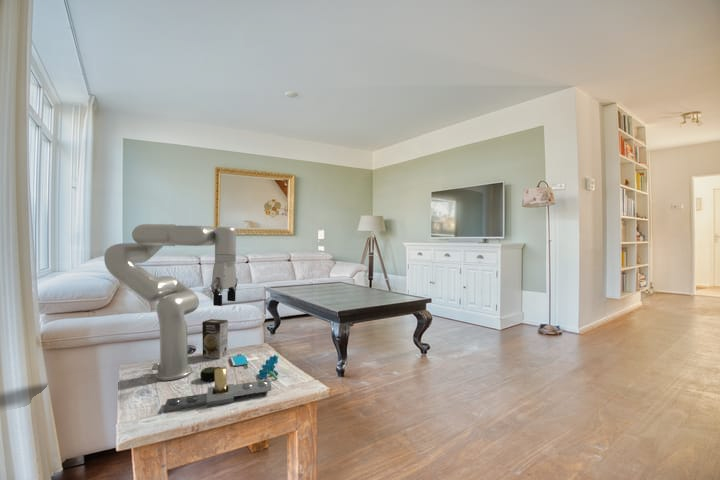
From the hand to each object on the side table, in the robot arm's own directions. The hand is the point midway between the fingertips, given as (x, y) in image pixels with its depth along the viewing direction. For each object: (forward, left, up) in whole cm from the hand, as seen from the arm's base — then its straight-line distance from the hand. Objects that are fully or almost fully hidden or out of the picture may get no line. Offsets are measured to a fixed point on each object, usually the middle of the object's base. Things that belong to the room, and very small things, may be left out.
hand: (224, 303), depth 134 cm
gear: (+17, +1, -29) cm, 33 cm away
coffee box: (-16, +22, -29) cm, 40 cm away
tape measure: (-4, -2, -29) cm, 29 cm away
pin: (+8, -19, -28) cm, 35 cm away
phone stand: (0, +17, -29) cm, 34 cm away
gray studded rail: (+8, -19, -28) cm, 35 cm away
